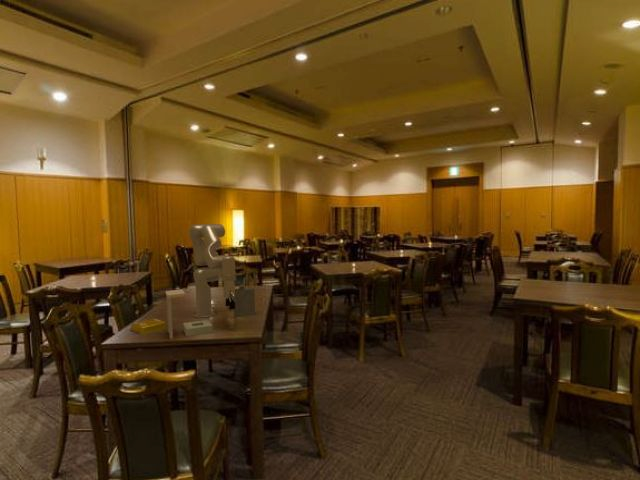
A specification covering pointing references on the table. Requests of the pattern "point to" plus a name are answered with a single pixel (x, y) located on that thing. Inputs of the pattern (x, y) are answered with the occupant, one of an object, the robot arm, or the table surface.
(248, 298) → the hip flask
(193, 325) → the socket block
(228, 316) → the peg
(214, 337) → the table surface
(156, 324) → the element tile
